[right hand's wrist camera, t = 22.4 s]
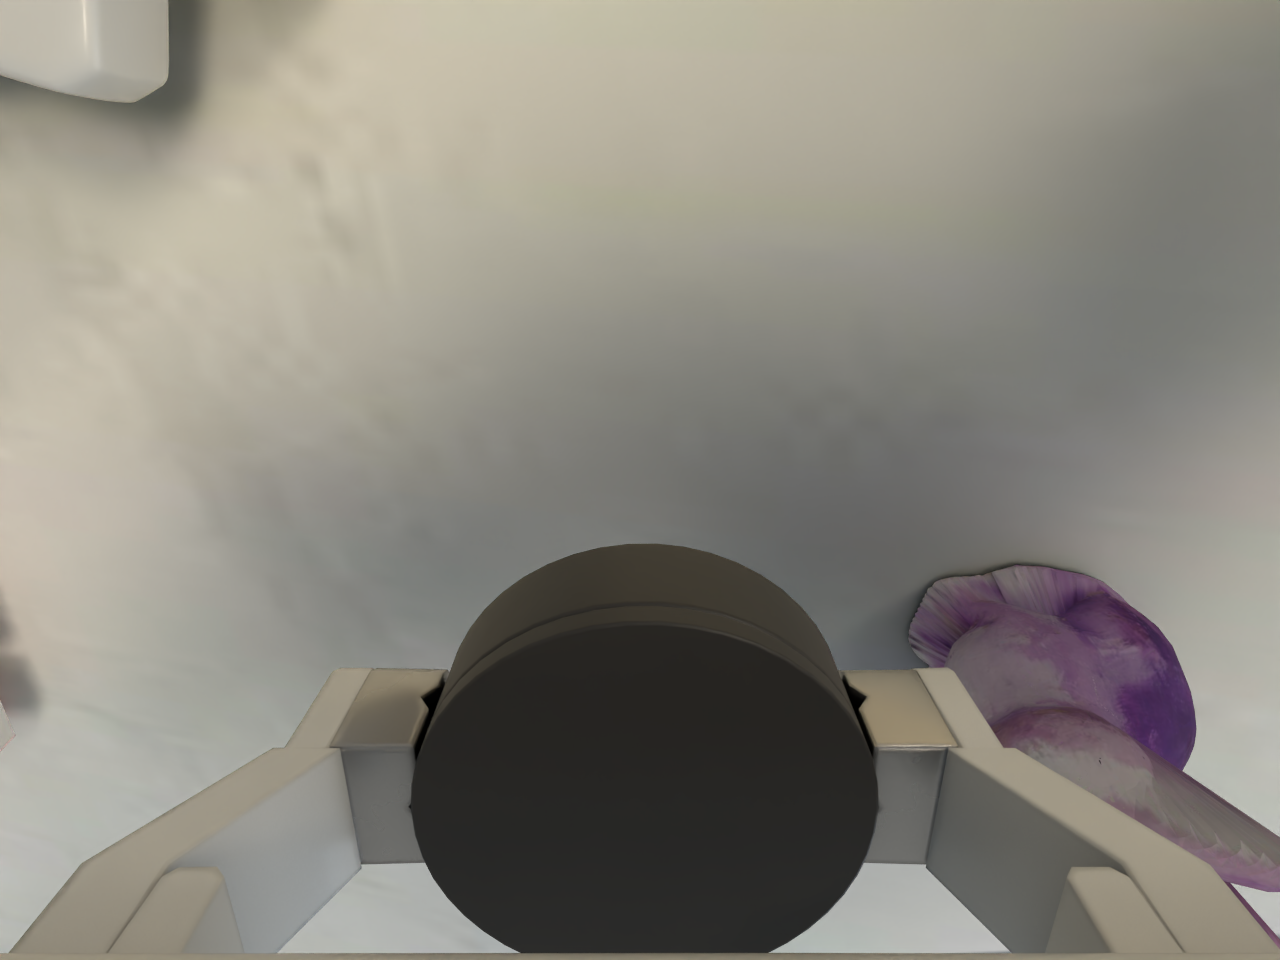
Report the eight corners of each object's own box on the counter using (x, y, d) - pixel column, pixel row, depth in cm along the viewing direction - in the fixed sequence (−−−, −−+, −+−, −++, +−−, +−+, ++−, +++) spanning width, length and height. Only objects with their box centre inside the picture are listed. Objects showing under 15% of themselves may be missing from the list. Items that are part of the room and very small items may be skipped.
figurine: (854, 608, 33) (1002, 920, 20) (1084, 507, 32) (1428, 773, 18) (930, 758, 37) (1105, 1119, 23) (1144, 673, 35) (1478, 1012, 21)
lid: (629, 914, 12) (628, 1039, 10) (365, 704, 10) (311, 808, 9) (917, 729, 10) (972, 835, 9) (662, 456, 9) (667, 524, 7)
